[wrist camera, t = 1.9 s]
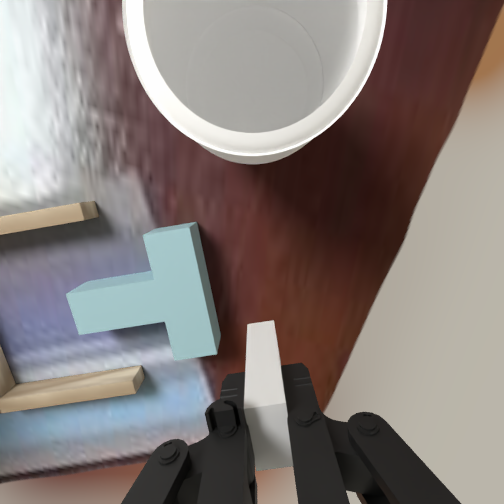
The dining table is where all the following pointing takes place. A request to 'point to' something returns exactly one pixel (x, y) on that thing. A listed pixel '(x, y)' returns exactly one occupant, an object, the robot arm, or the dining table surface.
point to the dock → (71, 387)
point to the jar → (253, 67)
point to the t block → (157, 295)
